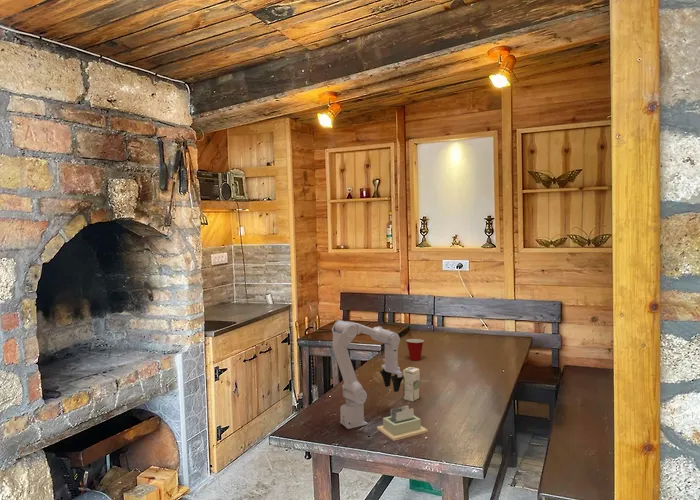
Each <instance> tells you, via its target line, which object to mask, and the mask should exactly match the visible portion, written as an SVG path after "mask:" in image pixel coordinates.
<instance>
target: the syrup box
mask: <svg viewBox="0 0 700 500" xmlns="http://www.w3.org/2000/svg"><path fill="white" fill-rule="evenodd" d="M420 372H421V371H420V369H419V368H418V367H413V366H409V367H406V368H404V369H402V375H403V376H404V378H403V380H402V381H403V383H402V384H403V385H402V387H403V388H402V391H403V393H402V395H403V397H402V399H403V400H405V401H410V402H412V403H413V402H415V401H417V400H419V399H420V396H421V395H420V393H421V392H420V391H421V390H420V388H421V384H420V382H421V381H420V380H421V377H420Z"/></svg>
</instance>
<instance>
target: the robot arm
mask: <svg viewBox="0 0 700 500" xmlns="http://www.w3.org/2000/svg"><path fill="white" fill-rule="evenodd" d="M331 332H332V345H331V346H332V351H333V353H334V356H335V359H336V361H337V365H338V368H339V371H340V374H341V376H342V381H343V383H342V385H341V387H342V396H343V398H344V399H345V402H346V403H344V404H342V405H340V407H339V408H340V410H339V411H340V421H339V423H340V424H341V425H343V426H344V427H345V428H346V429H348V430H349V429H350V430H351V429H354V428H358V427H362V426H368V424H369V423H368V422H367V421H365V413H364V411H365V409H364V405H365V402H366V401H367V397H368V394H367V392H366V390H364V388H363V386H362V384H361V383H360V381H358V379H357V375H356V373H355V369H354V366H353V363H352V361H351V358H350V354H349V351H348V349H347V347H348V346H349V345H350V344H351V343H352V342H353V340H354V339H355V338H356V336H359V335H360V334H364V335H368V336H370V338H371V340H373V341H376V342H380V343H383V344H384V363H383V364H381V370H380V371H379V373H380V375H381V376H382V379H383V383H384V386H385V388H388V387H390V386H391V382H392V387H393V392H394V393H398V392H400V388H401V384H402V381H403V378H404V376H403V371H401V367H400V366H399V357H398V356H399V355H398V354H399V351H398V349H399V344H400V342H401V338H400V336H399V334H398V333H397V332H394V331H391V329H384V328H383V326H381V325H378V326H374V327H373V328H372V327H370V326H367V325H363V324H362V323H357V322H353V321H347V320H345V321H344V320H341V319H340V320H339V319H338V320H337V321H335V323H334V324H333V326H332V328H331Z"/></svg>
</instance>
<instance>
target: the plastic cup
mask: <svg viewBox="0 0 700 500" xmlns="http://www.w3.org/2000/svg"><path fill="white" fill-rule="evenodd" d="M405 341H406V344H407V349H408V354H409V360H411V361H414V362H419V361H420V360H421V357H422V356H421V355H422V350H423V346H424V342H425V340H424V339H420V338H409V339H406V340H405Z"/></svg>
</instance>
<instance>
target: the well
mask: <svg viewBox="0 0 700 500" xmlns="http://www.w3.org/2000/svg"><path fill="white" fill-rule="evenodd" d="M376 430H378V431H379V432H381V433H382V434H383V435H385V436H386V438H388V439H390V440H391V441H393V442H395V441H399V440H402V439H408V438H412V437H415V436H420V435H423V434H426V433H428V432H429V431H428V429H427V428H426V427H424V426H422V419H421V418H420V417H418V416H416V415H415V414H414V420H410V421H406V422H401V423H397V424H395V423H393V422H392V421H391V415H390V416H386V417H383V418H382V425H378V426H376Z"/></svg>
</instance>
